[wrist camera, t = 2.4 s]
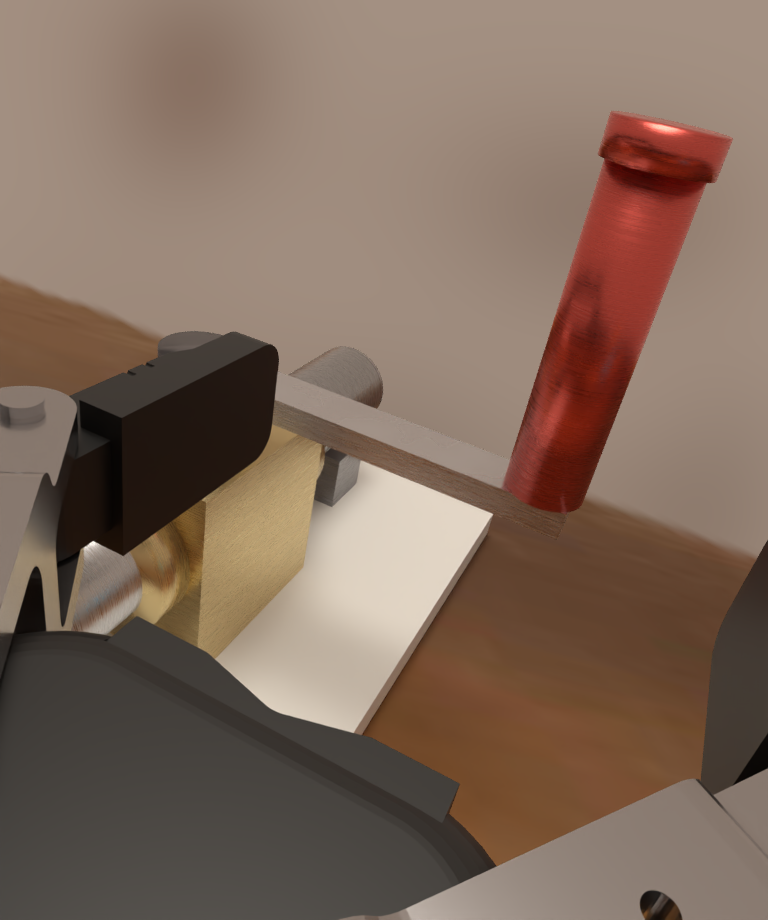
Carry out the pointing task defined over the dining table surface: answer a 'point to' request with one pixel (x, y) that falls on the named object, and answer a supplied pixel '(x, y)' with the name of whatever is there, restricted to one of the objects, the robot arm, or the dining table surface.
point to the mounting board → (357, 600)
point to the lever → (567, 350)
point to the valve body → (231, 533)
